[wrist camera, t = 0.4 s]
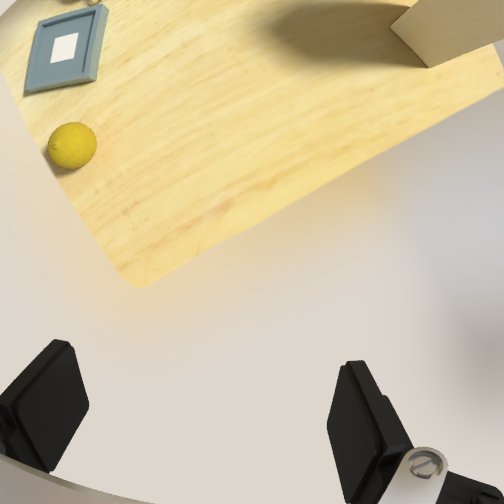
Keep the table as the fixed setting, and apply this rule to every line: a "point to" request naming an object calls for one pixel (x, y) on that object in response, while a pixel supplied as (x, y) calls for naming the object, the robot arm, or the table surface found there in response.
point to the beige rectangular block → (450, 27)
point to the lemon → (72, 145)
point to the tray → (67, 49)
